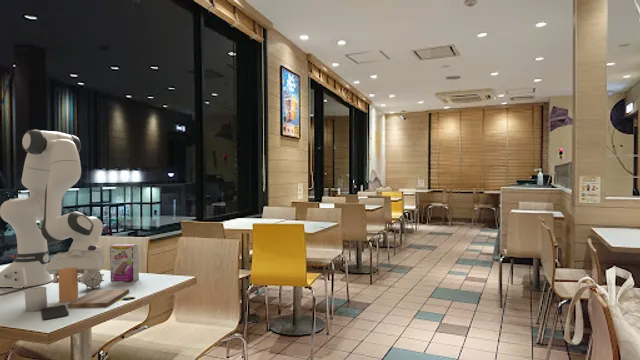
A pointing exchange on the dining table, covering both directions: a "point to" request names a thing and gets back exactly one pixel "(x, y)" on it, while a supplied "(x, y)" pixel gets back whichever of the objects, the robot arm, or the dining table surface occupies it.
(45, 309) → the phone
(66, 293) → the orange block
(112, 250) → the candy bar box
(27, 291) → the white rounded cube
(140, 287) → the dining table surface
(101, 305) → the walnut board
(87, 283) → the spiked faceted ball
